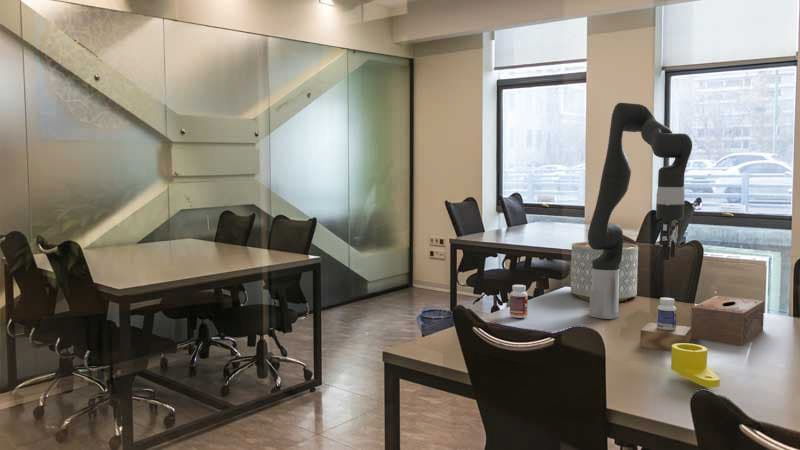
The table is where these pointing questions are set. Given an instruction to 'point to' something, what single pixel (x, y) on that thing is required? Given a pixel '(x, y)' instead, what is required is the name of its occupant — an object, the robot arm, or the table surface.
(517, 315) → the pill bottle
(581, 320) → the table surface
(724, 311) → the tissue box cover
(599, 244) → the robot arm
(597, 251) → the planter
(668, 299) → the pill bottle
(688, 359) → the crank
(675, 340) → the walnut block
